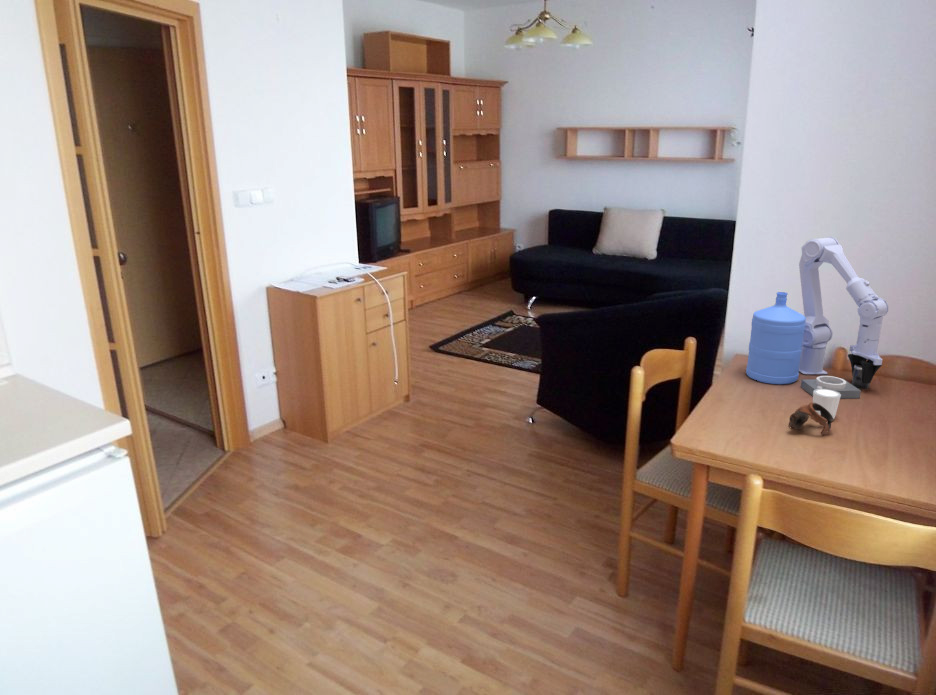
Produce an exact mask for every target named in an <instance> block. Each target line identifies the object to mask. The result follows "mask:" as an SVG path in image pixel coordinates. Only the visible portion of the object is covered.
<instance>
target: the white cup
mask: <svg viewBox="0 0 936 695" xmlns="http://www.w3.org/2000/svg"><path fill="white" fill-rule="evenodd" d="M840 397H841V394H840V393H839V392H837V391H833V390H829V389H816V390H814V391H813V396H812V403H817V404H819V405H821V406H822V407H824V408H825V409H826V410H827V411H828V412H829V413H830V414H831V415H832V417H833V419H835V418H836V415H837V412H838V408H839V403H840V400H841V399H840ZM815 411H816V410H815ZM816 412H817V413H818V414H819V415H821V413H820V411H816Z"/></svg>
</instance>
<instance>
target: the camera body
mask: <svg viewBox="0 0 936 695" xmlns="http://www.w3.org/2000/svg"><path fill="white" fill-rule="evenodd" d="M800 380H801V381H800V388H801V389H802V390H804V391H805V392H806V393H808V394H809V395H810V396H811V397H813V391H814V390H816V389H829V390H833V391H837V392H839V393H840V394H841V397H840V400H841V399H843V400H845V399H860V397H861V392H862V389H858V388H856V387H855V386H853V385H852V383H850V382H849V381H847V380H845V378H840V377H837V376H833V375H819V376H817V377H816V378H814V379H813V378H812V379H800Z"/></svg>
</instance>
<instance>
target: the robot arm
mask: <svg viewBox="0 0 936 695" xmlns="http://www.w3.org/2000/svg"><path fill="white" fill-rule="evenodd" d="M824 263H826V264H830V265H831V266H832V267H834V269H835V271H837V273H838V274H839V275H840V276H841V278H842V279H843V280H844V281H845V282H846V288H845V289H846V291H847V292H848V294H849V296H851V298H852V299H853V300H854V302H855V304H856V305H857V307H858V308H857V314H858V316H859V327H858V332H857V337H856V338H857V339H856V344H850V345H849V352H851V353H848V354H847V357H848V359H849V362H850V367H851V375H852V377H853V372H854V365H855V364H856V363H861V366H862V383H870V384H871V382H872V381H873V378H874V376H875V374H876V373H877V371H878V370H879V369H880V368H881V367H882V366H883V358H881V356H880V355H879V352H878V347H879V342H880V337H881V336H880V335H881V329H882V326H883V325H882V324H883V318H884V316H886V315H887V314H888V312H889V304H888V302H887V300H886V299H884V298H882V297H879V296H878V294H877V293H875V291H874V290H873V289H872V286H870V284H871V283H870V282H869V280H866V279H865V278H861V277H859V276H858V274H857V273H856V271H855V270H854V268H853V266H852V265H851V263H850V262H849V260H848V258H847V257H846V255H845V253H844V249H843V246H842V245H841V244H840V243H839V241H838V239H837V238H836V237H833V236H826V237H822V238H811V239H809V240H807V241H806V242H805V243H804V244H803V245H802V246H801V256H800V259H799V262H798V266H799V268H798V269H799V278H800V287H801V294H802V295H801V297H802V305H803V315H804V316H805V318H806V321H805V323H806V325H805V331H804V336H803V342H802V352H801V357H800V364H799V373H801V374H802V375H828V374H829V373H828V372H827V371H826V370H824V369H823V368H824V362H825V355H826V350H827V345H828V342H830V341H831V340H832V339H833V334H834V333H833V330H832V328H831V326H830V323H829V322H830V321H829V319H828V318H827V317H826V316H825V315H824V311H823V310H824V309H823V300H822V291H821V290H822V289H821V282H820V273H819V272H820V270H819V267H821V266H822V265H823V264H824Z"/></svg>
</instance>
